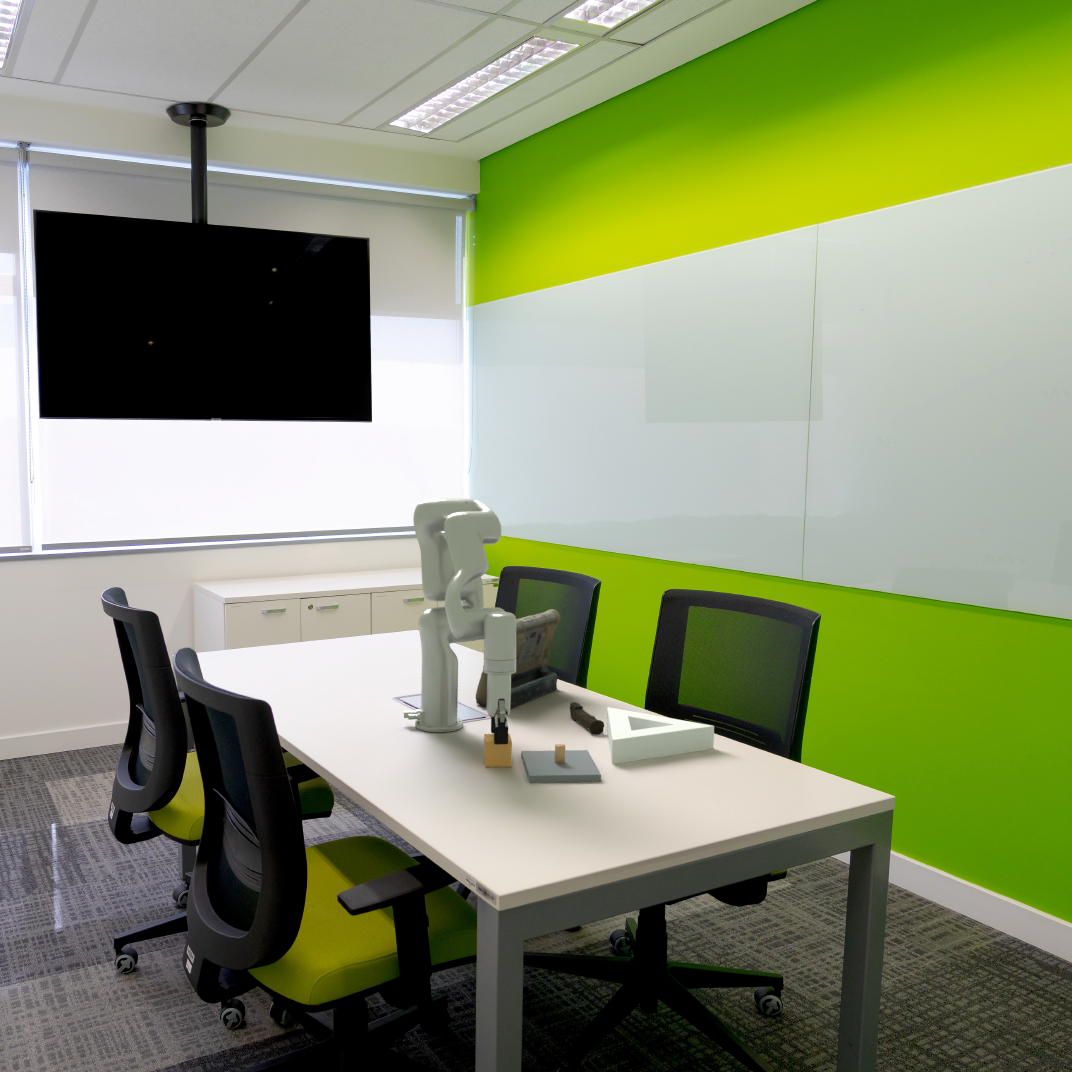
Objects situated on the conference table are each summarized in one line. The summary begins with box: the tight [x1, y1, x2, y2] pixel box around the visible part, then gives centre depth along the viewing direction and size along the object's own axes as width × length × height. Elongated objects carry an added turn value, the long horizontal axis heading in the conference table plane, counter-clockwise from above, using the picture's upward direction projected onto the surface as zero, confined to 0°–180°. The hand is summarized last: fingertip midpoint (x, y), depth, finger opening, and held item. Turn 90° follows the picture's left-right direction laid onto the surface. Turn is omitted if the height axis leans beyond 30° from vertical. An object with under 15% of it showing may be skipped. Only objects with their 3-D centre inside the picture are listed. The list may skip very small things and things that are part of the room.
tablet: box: [475, 608, 561, 709], centre depth 291 cm, size 33×14×25 cm, turn 155°
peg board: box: [520, 743, 602, 783], centre depth 226 cm, size 16×18×6 cm
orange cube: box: [483, 733, 513, 768], centre depth 230 cm, size 6×6×6 cm
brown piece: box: [569, 701, 605, 736], centre depth 264 cm, size 19×4×5 cm, turn 17°
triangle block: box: [606, 706, 715, 765], centre depth 246 cm, size 30×26×6 cm
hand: (499, 738), depth 229 cm, fingers open, 9 cm apart
